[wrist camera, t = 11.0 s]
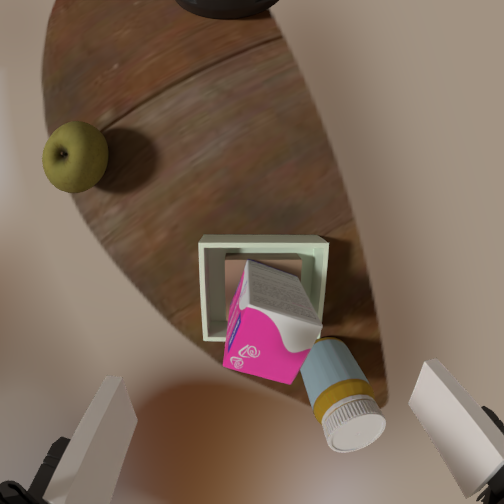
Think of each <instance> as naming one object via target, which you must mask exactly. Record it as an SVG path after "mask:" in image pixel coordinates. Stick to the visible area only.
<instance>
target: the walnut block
mask: <svg viewBox="0 0 504 504" xmlns="http://www.w3.org/2000/svg"><path fill="white" fill-rule="evenodd" d="M247 259H251V260H254V261H257V262H260V263H263V264H265V265H268V266H271V267H273V268H276V269H279V270H282V271H285V272H288V273H291V274H293V275H296V276H298V279H299V281H300V283H301V270H302V259H301V258H300V256H299V255H298V254H297V253H226V255H225V302H226V321H228V318H229V310H230V304H231V302H232V299H233V297H234V295H235V292H236V290H237V287H238V284H239V282H240V279H241V277H242V274H243V271H244V268H245V265H246V262H247Z"/></svg>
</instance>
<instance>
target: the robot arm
mask: <svg viewBox="0 0 504 504" xmlns="http://www.w3.org/2000/svg"><path fill="white" fill-rule="evenodd" d="M175 1H176V2H177V3H178V4H179V5H180V6H181V7H182V8H184V9H185V10H187V11H189V12H191V13H193V14H196V15H199V16H203V17H208V18H216V19H232V18H241V17H246V16H250V15H254V14H257V13H259V12H262V11H264V10H266V9H268V8H270V7H271V6H272V5H274V4H275V3H277V2H278V1H279V0H175ZM408 404H409V406H410V407H411V409H412V411H413V412H414V414H415V415H416V417H417V418H418V420H419V421H420V423H421V425H422V426H423V428H424V429H425V431H426V432H427V434H428V435H429V437H430V439H431V440H432V442H433V444H434V445H435V447H436V449H437V450H438V452H439V453H440V455H441V457H442V458H443V460H444V462H445V463H446V465H447V467H448V468H449V470H450V472H451V473H452V475H453V477H454V479H455V480H456V482H457V484H458V486H459V487H460V489H461V491H462V493H463V494H464V496H465V498H466V499H467V498H468V497H470V496H472V495H473V494H475V493H477V492H478V491H480V490H481V488H483V487H484V486H485V484H488V485H489V486H488V488H486V489H485V490H484V491H483V492H482V493H481V494H480V495H479V496H478V498H477V500H476V501H479V500H480V499H481V498H482V497H483V496H484V495H485V497H484V498H483V499H482V500H481V502H483V504H504V425H503V423H502V421H501V420H499V418H498V417H497V416H496V414H495V413H494V412H493V411H492V410H490V409H488V408H487V407H485V406H483V407H480V406H479V405H478V404H477V402H476V401H475V400H474V399H473V398H472V397H471V395H470V394H469V393H468V392H467V391H466V390H465V389H464V388H463V387H462V385H461V384H460V383H459V382H458V381H457V380H456V379H455V378H454V376H453V375H452V374H451V373H450V372H449V371H448V370H447V369H446V368H445V367H444V366H443V365H442V363H441V362H440V361H439V360H438V359H437V358H435V359H431V360H427V361H424V364H423V366H422V369H421V372H420V375H419V378H418V381H417V383H416V386H415V388H414V391H413V393H412V396H411V398H410V401H409V403H408ZM136 424H137V418H136V415H135V412H134V410H133V407H132V404H131V401H130V398H129V395H128V393H127V389H126V387H125V383H124V380H123V377H118V376H110V375H107V376H106V377H105V379H104V381H103V383H102V384H101V386H100V388H99V389H98V391H97V393H96V395H95V396H94V398H93V400H92V402H91V403H90V405H89V407H88V409H87V411H86V412H85V414H84V416H83V418H82V420H81V422H80V423H79V426H78V427H77V429H76V431H75V433H74V435H73V437H72V439H67V438H64V437H60V438H59V439H58V440H57V441H56V442H54V443H53V444H52V446H51V448H50V450H49V451H48V453H47V456H46V457H45V459H44V461H43V464H41V466H40V468H39V470H38V472H37V474H36V476H35V478H34V480H33V482H32V484H31V486H30V488H29V489H28V491H26V490H25V489H24V488H23V487H22V486H21V485H20V484H19V483H16V482H15V481H5V482H2V483H1V484H0V504H110V502H111V499H112V495H113V492H114V489H115V486H116V482H117V479H118V476H119V473H120V470H121V467H122V464H123V461H124V458H125V455H126V452H127V449H128V446H129V443H130V441H131V438H132V435H133V432H134V429H135V426H136Z"/></svg>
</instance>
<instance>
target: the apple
mask: <svg viewBox="0 0 504 504" xmlns="http://www.w3.org/2000/svg"><path fill="white" fill-rule="evenodd" d="M42 162H43V168H44V171H45V174H46V176H47V178H48V179H49V181H50V182H51V183H52V184H53V185H54V186H55V187H56V188H58V189H59V190H62V191H65V192H68V193H79V192H83V191H86V190H88V189H90V188H91V187H93V186H94V185H95V184H96V183H97V182H98V181H99V180H100V179H101V178H102V176H103V174H104V173H105V170H106V167H107V163H108V145H107V142H106V140H105V138H104V136H103V134H102V133H101V132H100V131H99V130H98V129H97V128H95V127H94V126H92V125H90V124H88V123H85V122H80V121H73V122H69V123H66V124H64V125H62V126H61V127H59V128H58V129H57V130H56V131H55V132H54V133H53V134H52V135H51V136H50V138H49V139H48V141H47V143H46V145H45V148H44V150H43V157H42Z"/></svg>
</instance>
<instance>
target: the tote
mask: <svg viewBox="0 0 504 504" xmlns="http://www.w3.org/2000/svg"><path fill="white" fill-rule="evenodd" d="M328 251H329V243H328V242H327V241H325V240H324V239H323V238H321V237H320V236H318V235H242V234H225V235H203V237H202V238H201V240H200V241H199V271H200V292H201V310H202V326H203V340H204V341H226V335H227V326H228V321H226V302H225V255H226V253H297V254H298V255H299V256H300V258H301V259H302V270H301V284H302V286H303V288H304V290H305V292H306V294H307V296H308V298H309V300H310V302H311V304H312V306H313V308H314V310H315V312H316V313H317V315H318V317H319V319H320V321H321V323H322V315H323V306H324V297H325V287H326V276H327V264H328ZM320 332H321V331H320ZM317 339H320V333H319V335H318V337H317Z"/></svg>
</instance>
